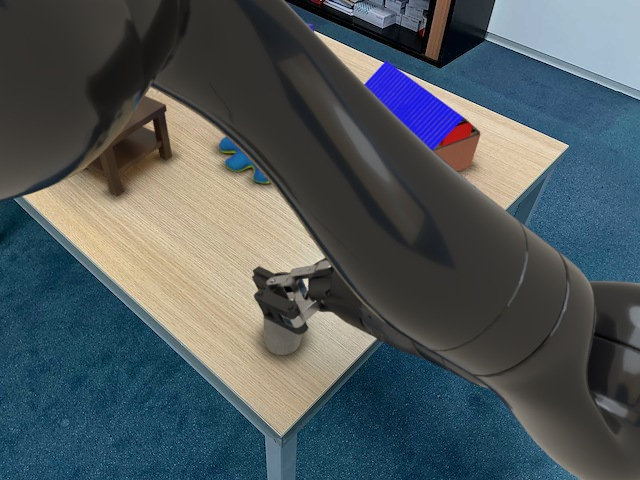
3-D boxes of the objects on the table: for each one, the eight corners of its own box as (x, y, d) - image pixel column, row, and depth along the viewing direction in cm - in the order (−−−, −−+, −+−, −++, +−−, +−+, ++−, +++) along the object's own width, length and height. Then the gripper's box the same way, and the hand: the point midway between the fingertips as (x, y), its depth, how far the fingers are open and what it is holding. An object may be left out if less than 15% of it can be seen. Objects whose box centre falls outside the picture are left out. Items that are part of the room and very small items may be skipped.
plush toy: (210, 132, 97) (206, 91, 91) (300, 117, 102) (301, 77, 96) (235, 191, 86) (232, 148, 80) (334, 171, 91) (338, 129, 85)
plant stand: (116, 198, 83) (102, 144, 76) (57, 168, 88) (38, 114, 80) (174, 156, 91) (166, 104, 84) (117, 130, 96) (105, 78, 89)
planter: (285, 318, 69) (287, 265, 62) (308, 342, 67) (312, 289, 60) (256, 337, 67) (254, 284, 60) (279, 362, 65) (279, 310, 58)
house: (402, 110, 106) (412, 53, 97) (473, 166, 94) (492, 107, 86) (351, 126, 101) (358, 68, 92) (419, 187, 89) (434, 127, 81)
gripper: (450, 207, 43) (331, 185, 56) (315, 313, 37) (217, 261, 50) (472, 282, 46) (354, 245, 59) (351, 390, 41) (250, 322, 54)
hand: (292, 252), depth 55 cm, fingers open, 8 cm apart
